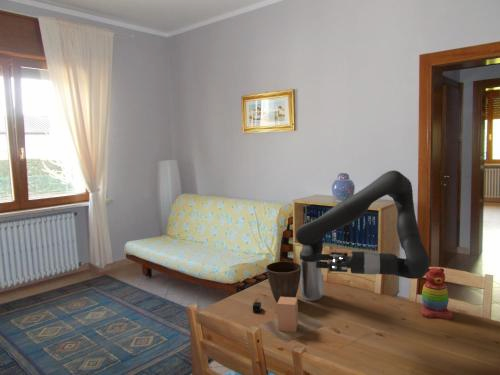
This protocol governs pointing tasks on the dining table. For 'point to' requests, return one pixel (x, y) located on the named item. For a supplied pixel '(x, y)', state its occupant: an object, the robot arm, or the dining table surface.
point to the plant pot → (284, 278)
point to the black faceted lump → (256, 307)
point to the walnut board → (304, 327)
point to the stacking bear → (435, 295)
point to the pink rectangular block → (287, 314)
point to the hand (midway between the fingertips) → (317, 260)
